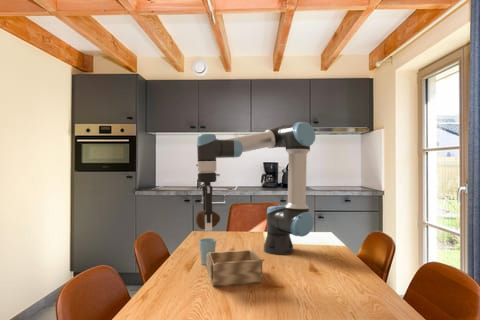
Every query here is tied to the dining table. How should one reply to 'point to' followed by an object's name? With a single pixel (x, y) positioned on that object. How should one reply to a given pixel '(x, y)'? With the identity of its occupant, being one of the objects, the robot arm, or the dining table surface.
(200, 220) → the potato
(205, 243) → the cup
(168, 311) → the dining table surface
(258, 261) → the flap
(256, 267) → the carton
